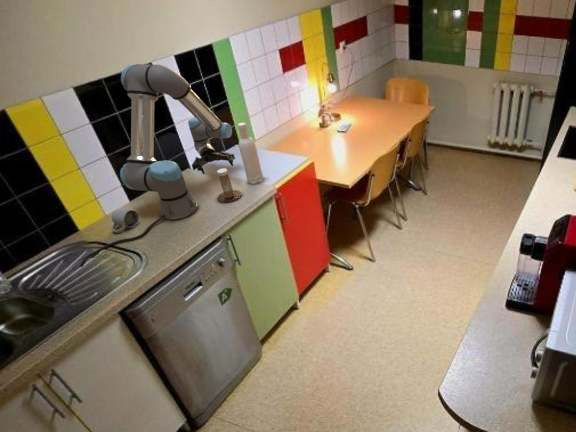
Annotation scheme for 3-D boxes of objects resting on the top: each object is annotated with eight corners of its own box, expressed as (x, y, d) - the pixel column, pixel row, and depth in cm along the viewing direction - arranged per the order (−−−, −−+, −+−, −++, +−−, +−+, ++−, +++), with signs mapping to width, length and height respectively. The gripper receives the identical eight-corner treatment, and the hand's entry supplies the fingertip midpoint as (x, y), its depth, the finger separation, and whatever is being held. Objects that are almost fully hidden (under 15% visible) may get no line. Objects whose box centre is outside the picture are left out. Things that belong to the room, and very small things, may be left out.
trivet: (222, 205, 192) (221, 204, 192) (214, 196, 200) (214, 195, 200) (245, 197, 198) (244, 196, 197) (236, 189, 205) (236, 187, 205)
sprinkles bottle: (222, 197, 198) (214, 171, 190) (229, 192, 201) (221, 167, 194) (229, 198, 196) (222, 173, 189) (236, 194, 199) (229, 168, 192)
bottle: (266, 176, 215) (253, 120, 199) (260, 184, 208) (246, 126, 192) (251, 176, 216) (237, 120, 200) (245, 183, 210) (230, 126, 194)
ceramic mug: (127, 219, 187) (120, 204, 182) (142, 221, 184) (135, 206, 180) (108, 232, 178) (100, 217, 174) (123, 235, 176) (115, 220, 172)
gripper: (233, 153, 222) (245, 167, 206) (184, 166, 211) (192, 181, 196) (230, 140, 218) (241, 153, 202) (179, 152, 207) (188, 167, 192)
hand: (217, 167), depth 199 cm, fingers open, 13 cm apart
